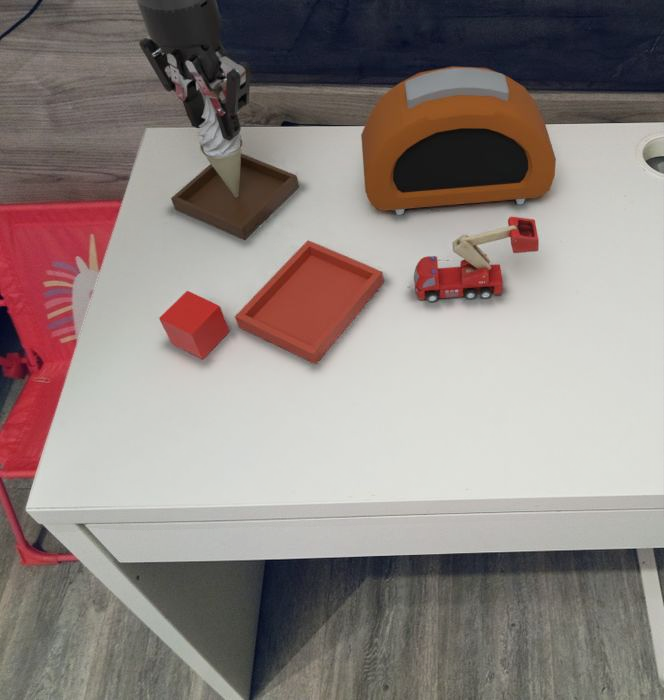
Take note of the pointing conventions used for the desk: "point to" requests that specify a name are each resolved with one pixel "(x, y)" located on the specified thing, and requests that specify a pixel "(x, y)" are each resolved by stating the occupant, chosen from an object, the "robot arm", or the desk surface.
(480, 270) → the toy fire truck
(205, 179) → the brown tray
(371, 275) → the red tray
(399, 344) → the desk surface
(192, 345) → the red block
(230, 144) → the ice cream cone
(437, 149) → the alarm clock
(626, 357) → the desk surface
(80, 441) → the desk surface
